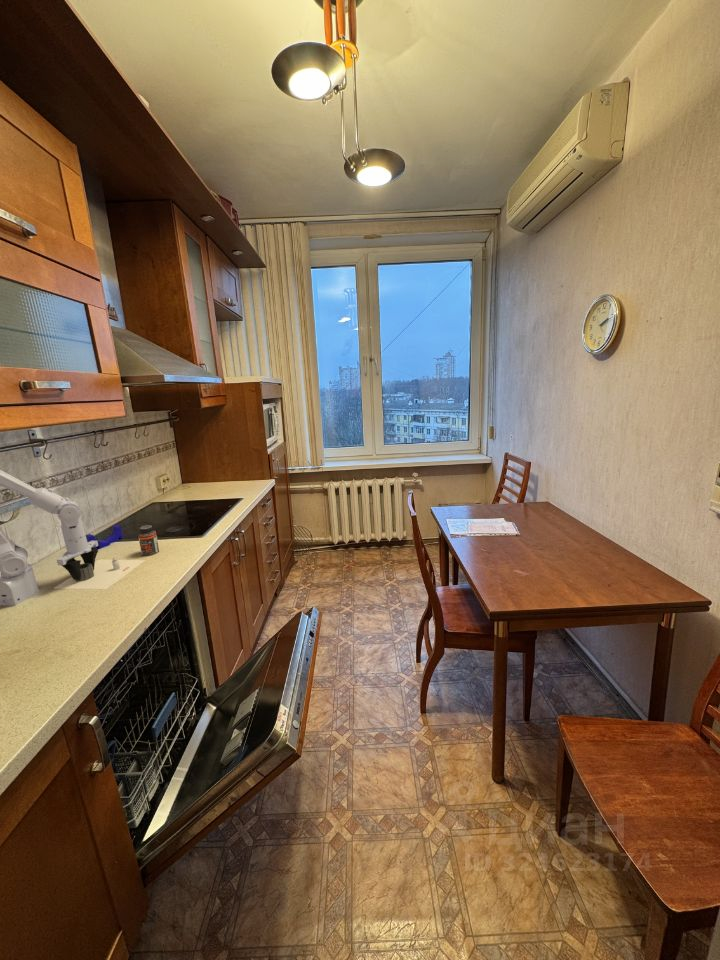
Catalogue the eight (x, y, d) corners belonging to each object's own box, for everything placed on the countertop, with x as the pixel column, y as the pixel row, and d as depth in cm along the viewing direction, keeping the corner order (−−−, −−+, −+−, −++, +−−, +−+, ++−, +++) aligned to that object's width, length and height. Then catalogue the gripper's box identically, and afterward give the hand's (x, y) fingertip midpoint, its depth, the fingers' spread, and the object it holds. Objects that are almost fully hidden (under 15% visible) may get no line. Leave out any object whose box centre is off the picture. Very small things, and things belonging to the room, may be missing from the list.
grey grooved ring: (85, 581, 124) (83, 570, 123) (71, 581, 124) (68, 570, 123) (97, 573, 129) (95, 563, 128) (83, 573, 129) (81, 562, 128)
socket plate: (106, 591, 119) (103, 577, 118) (53, 590, 121) (49, 577, 119) (146, 561, 138) (143, 549, 137) (100, 561, 140) (97, 549, 139)
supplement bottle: (140, 559, 141) (134, 530, 138) (144, 552, 146) (139, 525, 143) (157, 556, 142) (152, 528, 139) (161, 550, 148) (156, 523, 145)
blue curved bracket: (94, 551, 149) (91, 537, 148) (88, 549, 152) (85, 535, 150) (125, 540, 159) (122, 526, 158) (119, 538, 162) (116, 525, 160)
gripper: (68, 546, 116) (77, 586, 119) (102, 528, 130) (110, 564, 133) (46, 546, 116) (57, 586, 120) (83, 528, 130) (92, 564, 134)
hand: (84, 574), depth 126 cm, fingers closed on grey grooved ring, 5 cm apart
